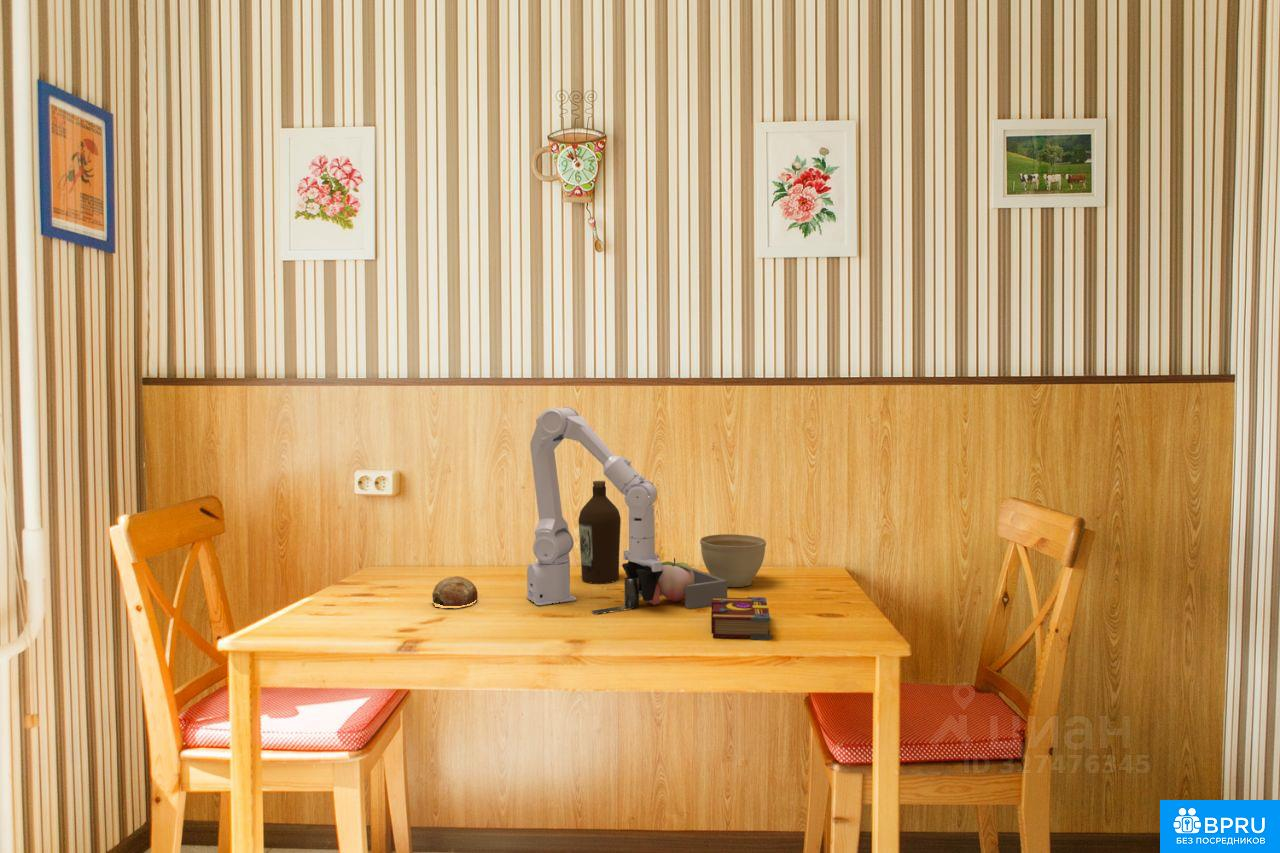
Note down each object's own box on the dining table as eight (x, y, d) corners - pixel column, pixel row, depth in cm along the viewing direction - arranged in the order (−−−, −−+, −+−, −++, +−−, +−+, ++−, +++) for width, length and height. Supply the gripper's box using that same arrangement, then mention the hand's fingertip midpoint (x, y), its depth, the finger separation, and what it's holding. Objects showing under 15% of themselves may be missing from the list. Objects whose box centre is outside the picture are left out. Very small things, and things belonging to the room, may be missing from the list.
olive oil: (610, 572, 204) (609, 478, 203) (628, 581, 195) (627, 482, 194) (572, 577, 199) (571, 480, 198) (589, 586, 190) (588, 484, 189)
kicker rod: (629, 608, 169) (628, 580, 168) (621, 604, 172) (621, 577, 172) (659, 603, 172) (659, 576, 172) (651, 599, 175) (651, 573, 175)
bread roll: (429, 620, 176) (417, 592, 173) (456, 591, 184) (445, 564, 181) (463, 625, 171) (452, 597, 168) (489, 596, 179) (479, 568, 176)
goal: (688, 609, 169) (688, 586, 169) (656, 594, 182) (656, 573, 182) (727, 602, 174) (727, 580, 174) (693, 588, 187) (693, 568, 186)
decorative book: (711, 639, 149) (711, 614, 149) (711, 615, 165) (711, 592, 165) (771, 641, 148) (771, 615, 148) (765, 616, 164) (765, 593, 164)
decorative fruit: (700, 599, 177) (700, 555, 177) (689, 608, 170) (688, 563, 169) (662, 595, 181) (661, 552, 181) (649, 604, 173) (648, 559, 173)
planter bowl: (745, 595, 180) (745, 548, 180) (687, 585, 190) (687, 541, 190) (777, 581, 193) (777, 538, 193) (722, 572, 203) (721, 531, 203)
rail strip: (595, 614, 166) (595, 613, 166) (590, 612, 168) (590, 610, 168) (632, 609, 170) (632, 607, 170) (627, 606, 172) (627, 605, 172)
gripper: (673, 540, 167) (674, 602, 167) (642, 529, 180) (643, 587, 180) (644, 543, 164) (645, 607, 164) (615, 532, 176) (615, 591, 177)
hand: (642, 597), depth 172 cm, fingers open, 5 cm apart
